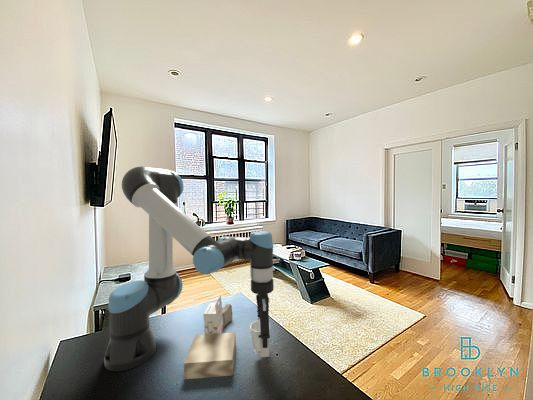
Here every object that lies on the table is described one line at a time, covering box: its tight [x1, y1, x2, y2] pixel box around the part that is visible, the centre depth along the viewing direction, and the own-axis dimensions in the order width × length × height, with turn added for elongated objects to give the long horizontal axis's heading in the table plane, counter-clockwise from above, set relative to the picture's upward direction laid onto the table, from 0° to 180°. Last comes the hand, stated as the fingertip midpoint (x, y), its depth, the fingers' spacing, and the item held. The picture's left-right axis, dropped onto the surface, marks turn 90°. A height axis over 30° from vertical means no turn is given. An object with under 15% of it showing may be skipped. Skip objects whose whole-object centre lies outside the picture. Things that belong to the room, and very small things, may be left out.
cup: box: [249, 320, 272, 355], centre depth 76 cm, size 7×10×8 cm
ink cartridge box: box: [203, 294, 224, 334], centre depth 86 cm, size 9×5×15 cm, turn 179°
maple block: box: [183, 332, 237, 380], centre depth 75 cm, size 14×14×5 cm
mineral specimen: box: [222, 303, 233, 329], centre depth 96 cm, size 13×7×6 cm, turn 158°
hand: (263, 345), depth 77 cm, fingers closed on cup, 9 cm apart
